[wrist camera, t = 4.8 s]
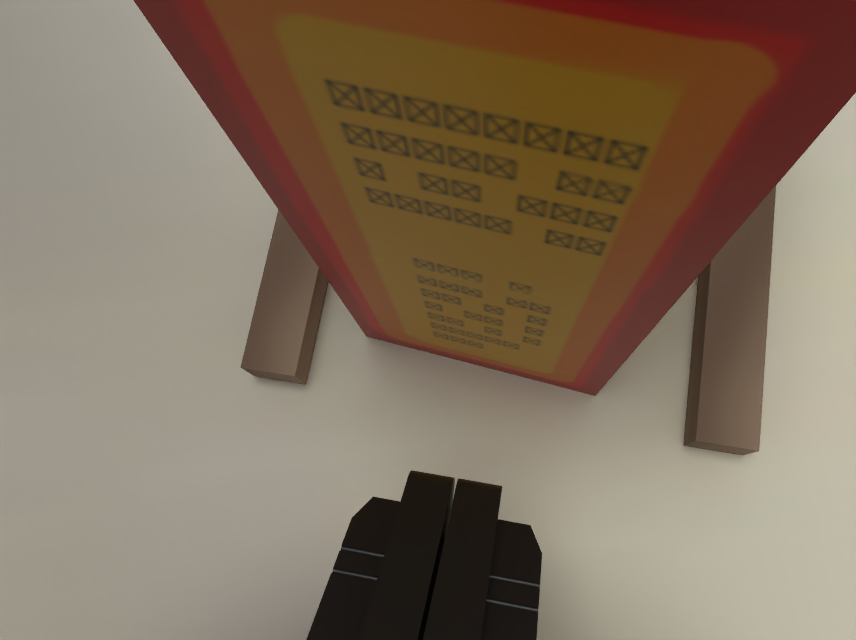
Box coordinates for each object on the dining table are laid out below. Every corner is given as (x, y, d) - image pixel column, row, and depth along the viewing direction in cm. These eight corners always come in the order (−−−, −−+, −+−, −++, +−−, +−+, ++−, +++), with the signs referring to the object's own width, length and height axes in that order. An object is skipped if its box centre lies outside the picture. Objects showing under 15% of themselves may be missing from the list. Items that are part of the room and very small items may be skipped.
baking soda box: (454, 50, 23) (379, -906, 8) (665, 91, 22) (1074, -909, 7) (366, 335, 21) (6, -183, 5) (595, 395, 20) (959, -30, 4)
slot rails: (254, 375, 21) (240, 367, 20) (357, -66, 24) (351, -95, 23) (742, 454, 19) (759, 450, 18) (775, -31, 23) (791, -60, 22)
